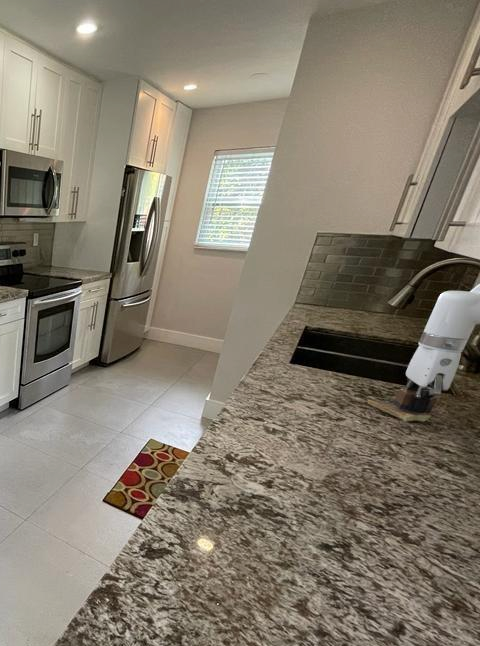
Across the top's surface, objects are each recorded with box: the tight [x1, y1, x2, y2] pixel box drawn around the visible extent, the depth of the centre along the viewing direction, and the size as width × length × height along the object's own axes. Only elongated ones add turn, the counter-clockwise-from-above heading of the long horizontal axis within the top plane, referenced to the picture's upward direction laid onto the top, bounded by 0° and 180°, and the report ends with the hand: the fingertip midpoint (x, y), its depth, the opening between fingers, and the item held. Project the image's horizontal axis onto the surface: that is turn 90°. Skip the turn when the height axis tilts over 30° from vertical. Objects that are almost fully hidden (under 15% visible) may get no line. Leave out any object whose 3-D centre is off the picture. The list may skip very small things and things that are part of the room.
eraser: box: [392, 388, 438, 415], centre depth 107 cm, size 6×4×4 cm, turn 65°
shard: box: [366, 398, 431, 423], centre depth 110 cm, size 11×8×2 cm
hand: (411, 407), depth 107 cm, fingers closed on eraser, 3 cm apart
